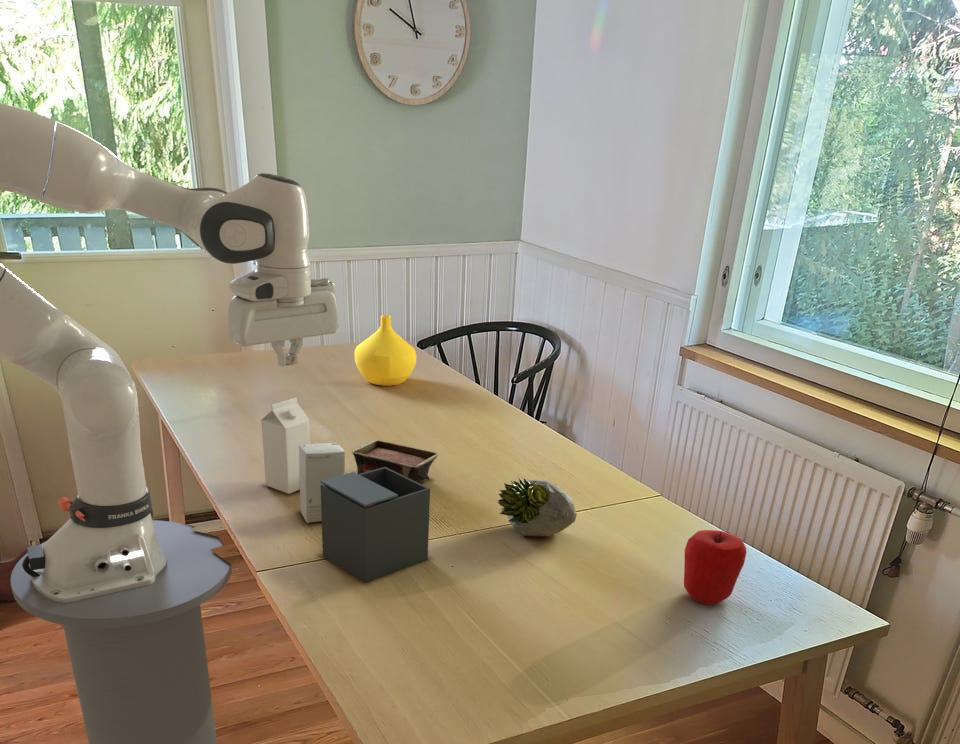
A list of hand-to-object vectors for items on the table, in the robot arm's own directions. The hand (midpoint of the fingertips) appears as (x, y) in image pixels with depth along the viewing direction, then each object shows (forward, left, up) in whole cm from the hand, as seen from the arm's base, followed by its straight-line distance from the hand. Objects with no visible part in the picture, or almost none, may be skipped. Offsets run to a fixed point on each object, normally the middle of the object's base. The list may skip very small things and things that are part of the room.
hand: (288, 364), depth 152 cm
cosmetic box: (+10, +5, -34) cm, 36 cm away
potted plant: (+39, -27, -34) cm, 58 cm away
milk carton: (+13, +22, -34) cm, 43 cm away
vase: (+80, +71, -34) cm, 112 cm away
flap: (+3, -16, -19) cm, 25 cm away
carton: (+7, -16, -34) cm, 38 cm away
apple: (+45, -65, -34) cm, 86 cm away
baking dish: (+33, +10, -34) cm, 48 cm away
